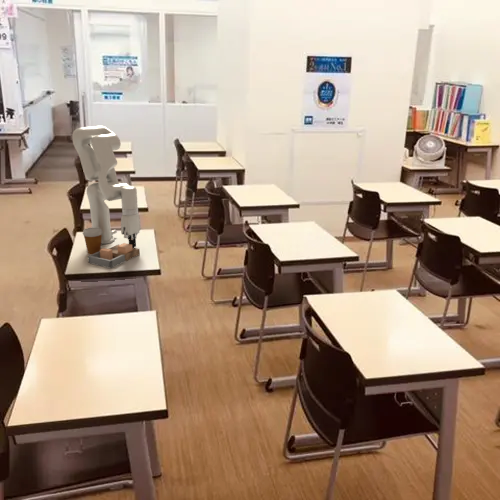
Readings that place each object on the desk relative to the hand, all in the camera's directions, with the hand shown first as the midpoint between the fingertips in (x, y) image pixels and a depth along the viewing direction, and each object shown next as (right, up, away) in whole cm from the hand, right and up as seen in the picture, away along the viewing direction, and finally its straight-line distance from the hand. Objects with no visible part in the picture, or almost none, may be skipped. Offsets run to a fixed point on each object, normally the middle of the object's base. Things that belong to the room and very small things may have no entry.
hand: (132, 246), depth 271 cm
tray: (-10, -7, -10) cm, 16 cm away
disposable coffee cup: (-20, -3, +2) cm, 20 cm away
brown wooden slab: (-5, -4, -2) cm, 7 cm away
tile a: (-10, -3, -8) cm, 13 cm away
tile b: (-3, -2, -4) cm, 6 cm away
